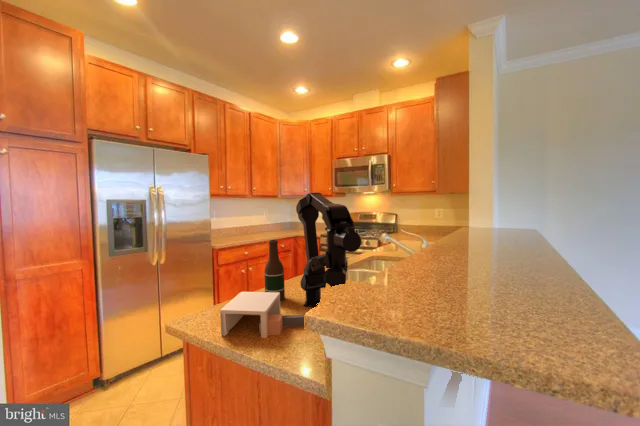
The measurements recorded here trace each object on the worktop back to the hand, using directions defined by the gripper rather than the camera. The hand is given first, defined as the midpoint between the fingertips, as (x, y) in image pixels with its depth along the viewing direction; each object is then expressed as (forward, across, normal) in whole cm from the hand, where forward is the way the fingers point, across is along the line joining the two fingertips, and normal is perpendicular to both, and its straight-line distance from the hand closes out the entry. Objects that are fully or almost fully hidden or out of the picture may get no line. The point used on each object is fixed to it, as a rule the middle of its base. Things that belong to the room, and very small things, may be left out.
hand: (337, 295), depth 89 cm
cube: (+10, +4, -19) cm, 22 cm away
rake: (+10, +1, -15) cm, 18 cm away
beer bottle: (+10, -22, -27) cm, 36 cm away
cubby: (+10, 0, -28) cm, 29 cm away
